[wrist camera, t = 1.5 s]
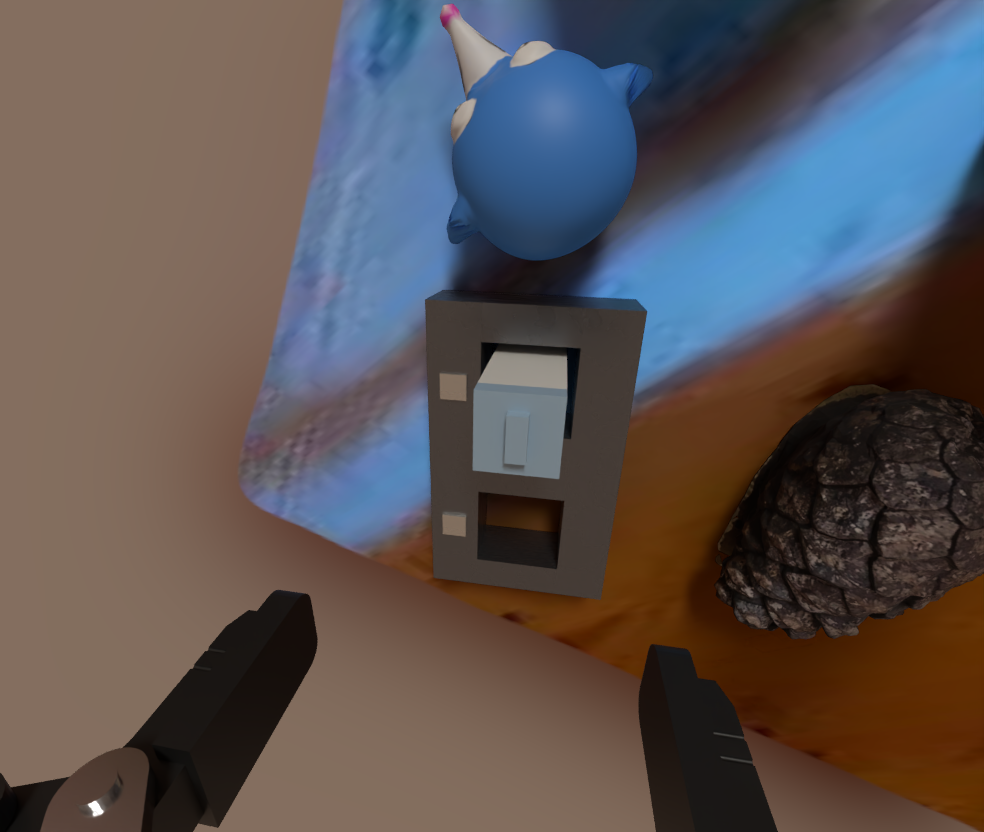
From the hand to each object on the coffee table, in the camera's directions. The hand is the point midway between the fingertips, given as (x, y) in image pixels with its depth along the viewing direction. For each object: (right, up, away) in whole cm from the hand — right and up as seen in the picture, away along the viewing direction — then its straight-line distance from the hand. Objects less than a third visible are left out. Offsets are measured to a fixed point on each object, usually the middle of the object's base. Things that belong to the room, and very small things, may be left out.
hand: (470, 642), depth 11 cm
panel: (+3, +4, +21) cm, 22 cm away
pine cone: (+23, 0, +20) cm, 30 cm away
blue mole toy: (+3, +20, +15) cm, 25 cm away
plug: (+3, +8, +19) cm, 21 cm away
